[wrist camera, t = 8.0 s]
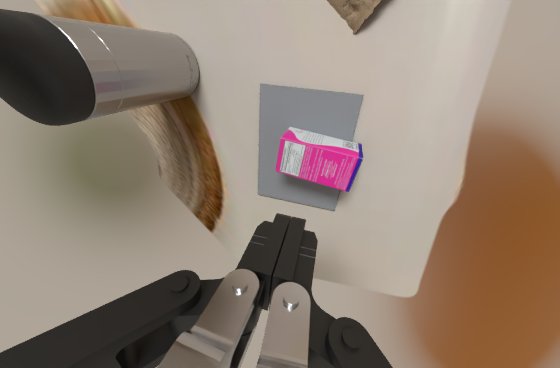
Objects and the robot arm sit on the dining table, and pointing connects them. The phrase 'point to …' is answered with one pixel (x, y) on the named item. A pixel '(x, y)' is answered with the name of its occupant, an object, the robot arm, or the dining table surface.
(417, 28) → the dining table surface
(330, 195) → the rubber mat
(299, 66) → the dining table surface
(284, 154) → the supplement box
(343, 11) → the clay tablet
